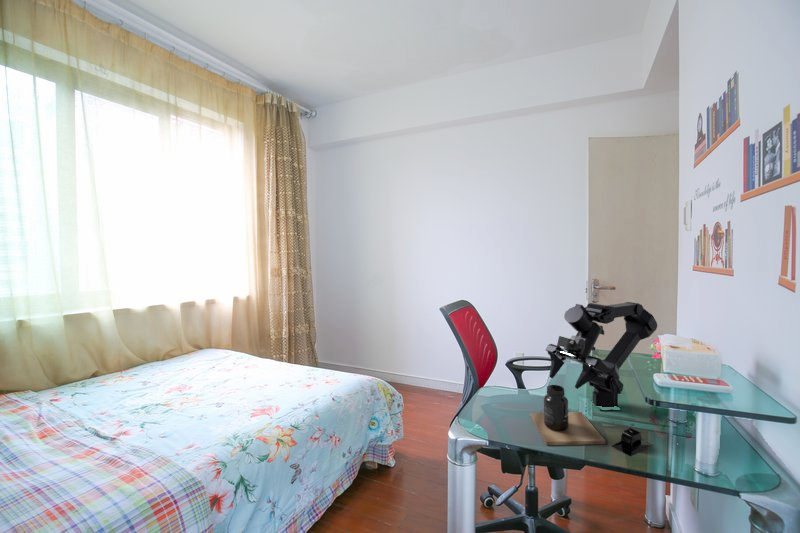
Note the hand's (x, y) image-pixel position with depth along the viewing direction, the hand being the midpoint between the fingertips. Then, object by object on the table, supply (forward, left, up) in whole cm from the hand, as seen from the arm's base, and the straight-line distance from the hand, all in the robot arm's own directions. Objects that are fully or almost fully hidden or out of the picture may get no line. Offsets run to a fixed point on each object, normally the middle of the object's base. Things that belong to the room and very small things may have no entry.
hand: (563, 382), depth 113 cm
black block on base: (-14, +12, -14) cm, 23 cm away
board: (+1, +3, -14) cm, 14 cm away
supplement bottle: (+3, +2, -13) cm, 13 cm away
